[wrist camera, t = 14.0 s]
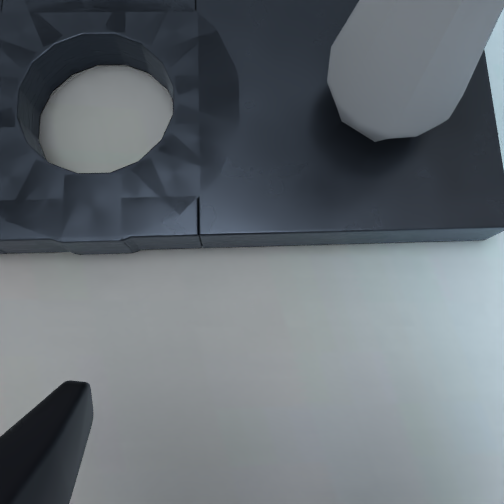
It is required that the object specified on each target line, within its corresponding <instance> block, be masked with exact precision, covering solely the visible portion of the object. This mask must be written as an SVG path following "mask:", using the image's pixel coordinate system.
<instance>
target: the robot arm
mask: <svg viewBox="0 0 504 504" xmlns="http://www.w3.org/2000/svg"><path fill="white" fill-rule="evenodd" d="M92 421H93V404H92V395H91V387H90V385H89V384H88V383H86V382H79V381H66V382H64V383H63V384H61V385H60V386H59V387H58V388H57V389H56V390H54V391H53V392H52V393H51V394H50V395H49V396H47V397H46V398H45V399H44V400H43V401H42V402H40V403H39V404H38V405H37V406H36V407H35V408H33V409H32V410H31V411H30V412H29V413H28V414H26V415H25V416H24V417H23V418H22V419H21V420H19V421H18V422H17V423H16V424H15V425H14V426H12V427H11V428H10V429H9V430H8V431H7V432H5V433H4V434H3V435H2V436H1V437H0V504H69V502H70V499H71V496H72V492H73V489H74V485H75V482H76V478H77V475H78V471H79V468H80V464H81V461H82V457H83V454H84V450H85V447H86V443H87V440H88V436H89V433H90V429H91V426H92Z"/></svg>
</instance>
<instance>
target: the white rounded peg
mask: <svg viewBox="0 0 504 504" xmlns="http://www.w3.org/2000/svg"><path fill="white" fill-rule="evenodd" d="M503 8H504V0H359V2H358V3H357V5H356V7H355V8H354V10H353V12H352V13H351V15H350V17H349V18H348V20H347V22H346V23H345V25H344V26H343V28H342V30H341V31H340V33H339V35H338V36H337V38H336V40H335V41H334V43H333V45H332V46H331V52H330V60H329V68H328V77H327V83H328V85H329V88H330V91H331V93H332V96H333V99H334V101H335V104H336V106H337V109H338V112H339V115H340V118H341V121H342V122H344V123H345V124H347V125H349V126H350V127H352V128H353V129H355V130H357V131H358V132H360V133H361V134H363V135H365V136H366V137H368V138H369V139H371V140H373V141H374V142H377V141H381V140H385V139H391V138H404V137H417V136H419V135H421V134H422V133H424V132H426V131H428V130H430V129H432V128H434V127H436V126H438V125H440V124H441V123H443V122H444V121H446V120H447V119H449V118H450V116H451V114H452V113H453V111H454V109H455V108H456V106H457V104H458V103H459V101H460V99H461V98H462V96H463V94H464V92H465V90H466V88H467V85H468V83H469V81H470V79H471V77H472V74H473V72H474V70H475V68H476V66H477V64H478V61H479V59H480V57H481V55H482V53H483V51H484V48H485V46H486V44H487V42H488V40H489V37H490V35H491V33H492V31H493V29H494V27H495V24H496V22H497V20H498V18H499V16H500V14H501V12H502V10H503Z"/></svg>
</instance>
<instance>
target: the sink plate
mask: <svg viewBox="0 0 504 504" xmlns="http://www.w3.org/2000/svg"><path fill="white" fill-rule="evenodd" d="M358 2H359V0H0V254H7V253H41V252H72V253H74V254H79V255H83V254H119V253H133V252H137V251H139V250H149V249H185V248H202V247H203V248H220V247H256V246H292V245H328V244H364V243H400V242H436V241H472V240H486V239H488V238H490V237H492V236H494V235H496V234H498V233H500V232H502V231H504V170H503V164H502V157H501V151H500V145H499V139H498V132H497V126H496V120H495V114H494V107H493V101H492V95H491V88H490V82H489V76H488V70H487V63H486V57H485V51H483V53H482V55H481V57H480V59H479V61H478V64H477V66H476V68H475V70H474V72H473V74H472V77H471V79H470V81H469V83H468V85H467V88H466V90H465V92H464V94H463V96H462V98H461V99H460V101H459V103H458V104H457V106H456V108H455V109H454V111H453V113H452V114H451V116H450V118H449V119H447V120H446V121H444V122H443V123H441V124H440V125H438V126H436V127H434V128H432V129H430V130H428V131H426V132H424V133H422V134H421V135H419V136H417V137H404V138H391V139H385V140H381V141H377V142H374V141H373V140H371V139H369V138H368V137H366V136H365V135H363V134H361V133H360V132H358V131H357V130H355V129H353V128H352V127H350V126H349V125H347V124H345V123H344V122H342V121H341V118H340V115H339V112H338V109H337V106H336V104H335V101H334V99H333V96H332V93H331V91H330V88H329V85H328V83H327V77H328V68H329V60H330V52H331V46H332V45H333V43H334V41H335V40H336V38H337V36H338V35H339V33H340V31H341V30H342V28H343V26H344V25H345V23H346V22H347V20H348V18H349V17H350V15H351V13H352V12H353V10H354V8H355V7H356V5H357V3H358ZM121 64H126V65H129V66H131V67H134V68H137V69H140V70H143V71H145V72H148V73H150V74H151V75H152V76H153V77H154V78H155V79H157V80H158V81H159V82H160V83H161V84H162V85H163V86H165V87H166V88H167V89H168V90H169V93H170V95H171V97H172V99H173V115H172V118H171V120H170V122H169V124H168V127H167V129H166V131H165V133H164V135H163V138H162V140H161V141H160V142H159V143H158V144H157V145H155V146H154V147H153V148H152V149H151V150H150V151H149V152H148V153H147V154H146V155H145V156H144V157H143V158H142V159H140V160H139V161H138V162H136V163H133V164H131V165H128V166H126V167H123V168H121V169H118V170H116V171H113V172H111V173H79V174H78V173H75V172H72V171H70V170H67V169H64V168H61V167H59V166H56V165H53V164H51V163H49V162H47V161H46V158H45V156H44V153H43V151H42V148H41V146H40V143H39V141H38V137H39V121H40V114H41V112H42V110H43V108H44V106H45V104H46V102H47V100H48V98H49V96H50V94H51V93H52V91H53V90H54V89H55V88H57V87H58V86H59V85H60V84H61V83H62V82H64V81H65V80H66V79H67V78H68V77H69V76H71V75H72V74H74V73H77V72H79V71H82V70H85V69H87V68H90V67H93V66H95V65H121Z"/></svg>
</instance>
